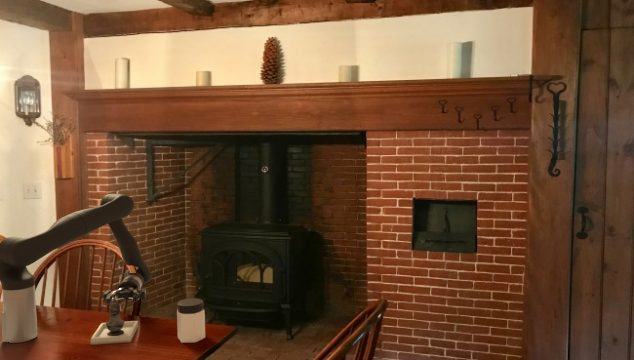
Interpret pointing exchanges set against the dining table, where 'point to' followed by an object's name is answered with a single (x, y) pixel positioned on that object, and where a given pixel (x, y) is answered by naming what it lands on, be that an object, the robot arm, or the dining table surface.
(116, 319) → the salt shaker
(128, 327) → the tray
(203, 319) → the jar
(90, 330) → the dining table surface
